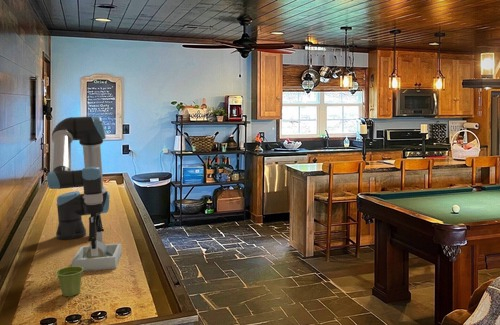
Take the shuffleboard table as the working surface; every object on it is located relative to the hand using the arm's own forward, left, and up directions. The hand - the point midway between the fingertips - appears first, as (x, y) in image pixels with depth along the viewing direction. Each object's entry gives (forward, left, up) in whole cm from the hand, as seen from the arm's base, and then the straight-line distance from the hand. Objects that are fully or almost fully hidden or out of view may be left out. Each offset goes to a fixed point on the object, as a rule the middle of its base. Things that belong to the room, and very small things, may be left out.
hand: (97, 250), depth 202 cm
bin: (0, 0, -5) cm, 5 cm away
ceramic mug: (0, +1, -4) cm, 4 cm away
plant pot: (+34, -4, -6) cm, 35 cm away
